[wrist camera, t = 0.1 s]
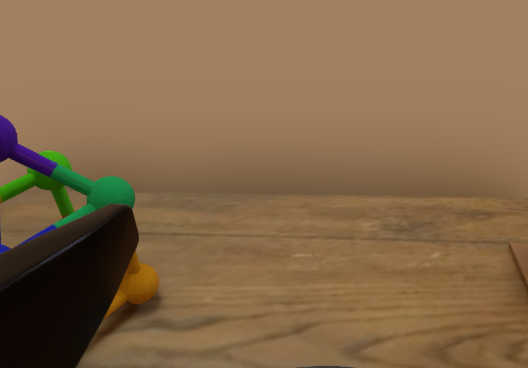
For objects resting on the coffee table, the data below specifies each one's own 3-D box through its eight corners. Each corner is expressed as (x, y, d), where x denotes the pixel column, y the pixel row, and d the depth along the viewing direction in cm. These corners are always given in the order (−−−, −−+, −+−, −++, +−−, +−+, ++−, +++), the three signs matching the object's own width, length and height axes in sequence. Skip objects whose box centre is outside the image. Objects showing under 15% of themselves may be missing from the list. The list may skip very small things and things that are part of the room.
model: (-8, 439, 20) (-100, 138, 15) (-62, 342, 27) (-138, 110, 22) (180, 325, 28) (160, 102, 23) (104, 272, 35) (74, 90, 30)
